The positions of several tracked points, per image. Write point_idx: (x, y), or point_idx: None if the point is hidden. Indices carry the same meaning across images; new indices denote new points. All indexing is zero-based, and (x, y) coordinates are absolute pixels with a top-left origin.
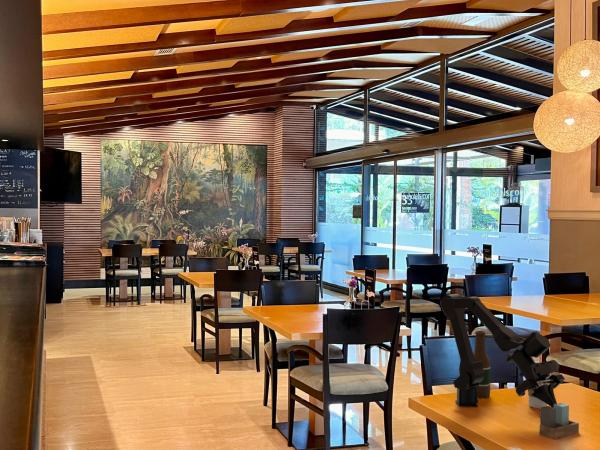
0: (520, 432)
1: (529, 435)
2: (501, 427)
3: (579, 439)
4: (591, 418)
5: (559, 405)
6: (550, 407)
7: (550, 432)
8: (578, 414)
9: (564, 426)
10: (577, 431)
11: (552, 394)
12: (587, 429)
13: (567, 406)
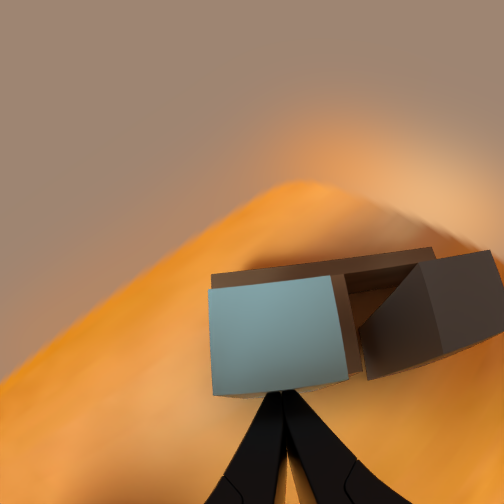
0: (484, 404)
1: (477, 356)
2: (497, 480)
3: (303, 230)
4: (7, 389)
5: (317, 323)
6: (451, 299)
7: None
8: (7, 448)
9: (351, 264)
10: None
11: (259, 497)
12: (134, 312)
13: (235, 291)
